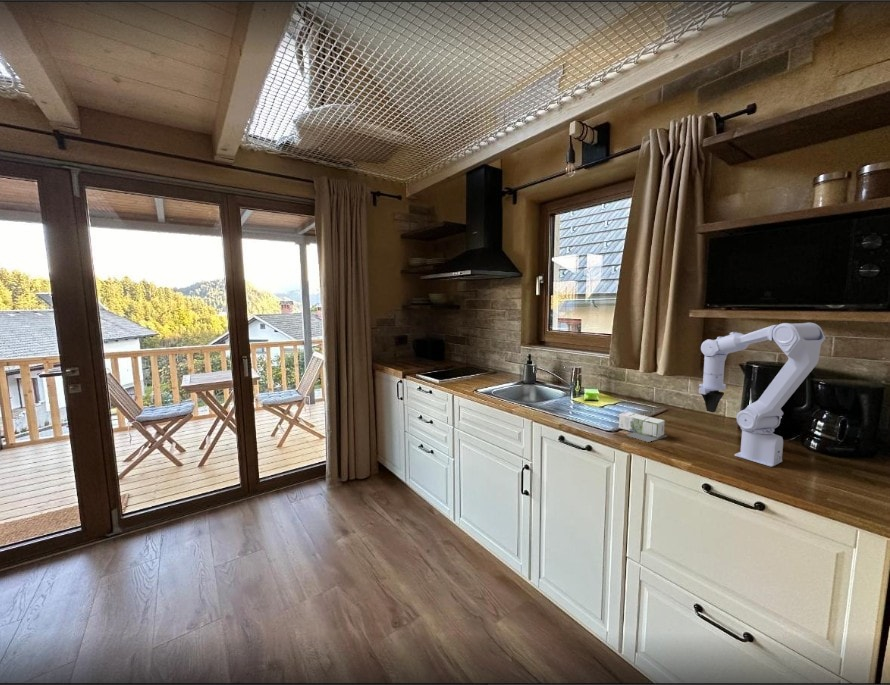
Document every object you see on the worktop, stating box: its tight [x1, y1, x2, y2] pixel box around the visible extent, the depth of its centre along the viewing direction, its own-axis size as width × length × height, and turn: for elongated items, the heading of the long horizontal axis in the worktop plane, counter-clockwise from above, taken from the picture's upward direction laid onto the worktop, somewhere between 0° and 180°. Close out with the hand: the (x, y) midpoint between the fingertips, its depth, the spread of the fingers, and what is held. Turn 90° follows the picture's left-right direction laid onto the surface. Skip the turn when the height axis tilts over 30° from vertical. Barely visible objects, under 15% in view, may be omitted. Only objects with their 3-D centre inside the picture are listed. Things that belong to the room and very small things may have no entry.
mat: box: [625, 432, 668, 443], centre depth 133 cm, size 8×12×1 cm
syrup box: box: [618, 411, 666, 438], centre depth 137 cm, size 6×6×14 cm
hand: (711, 411), depth 127 cm, fingers closed
